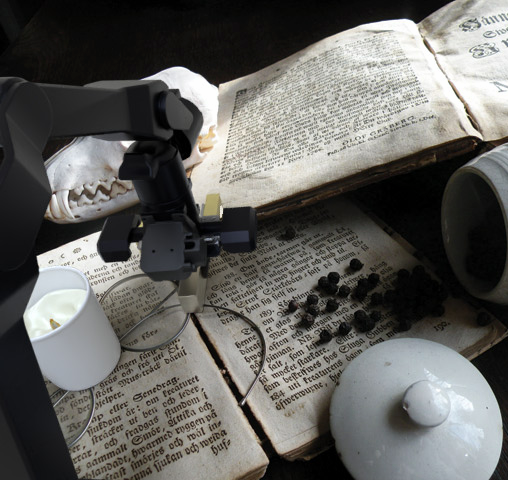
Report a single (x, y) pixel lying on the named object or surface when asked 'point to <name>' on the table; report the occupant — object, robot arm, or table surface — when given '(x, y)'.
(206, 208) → the butter slice
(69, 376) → the candle holder
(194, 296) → the knife
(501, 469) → the table surface
